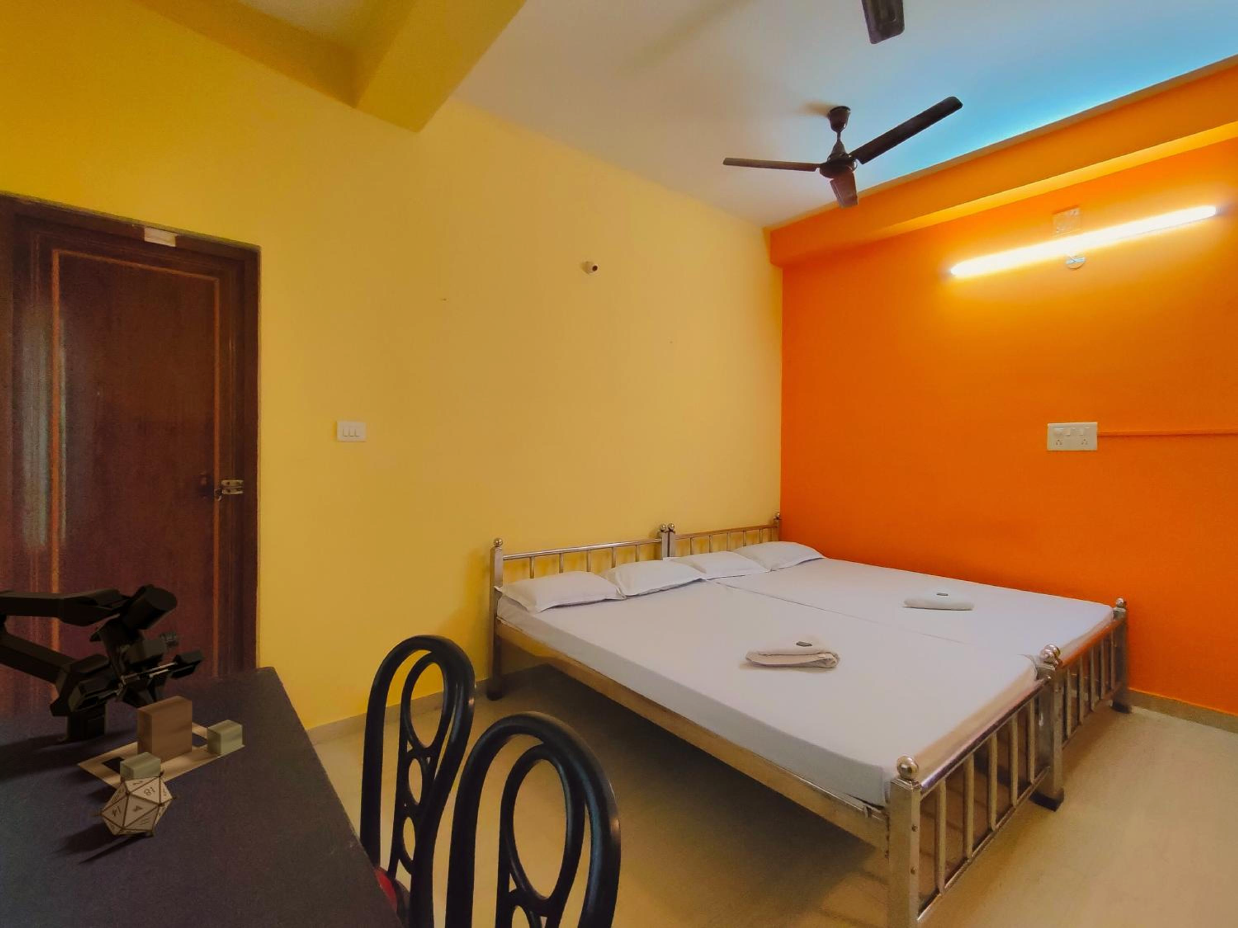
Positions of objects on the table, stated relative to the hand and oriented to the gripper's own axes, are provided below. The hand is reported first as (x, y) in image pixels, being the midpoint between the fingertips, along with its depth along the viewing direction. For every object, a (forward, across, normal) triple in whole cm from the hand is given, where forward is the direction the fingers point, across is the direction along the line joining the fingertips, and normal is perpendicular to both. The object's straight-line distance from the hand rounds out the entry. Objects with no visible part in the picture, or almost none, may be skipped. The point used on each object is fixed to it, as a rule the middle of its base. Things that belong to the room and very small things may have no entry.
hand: (158, 717), depth 99 cm
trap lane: (+7, 0, +4) cm, 8 cm away
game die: (+19, -12, -9) cm, 24 cm away
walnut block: (+6, 0, +2) cm, 7 cm away
